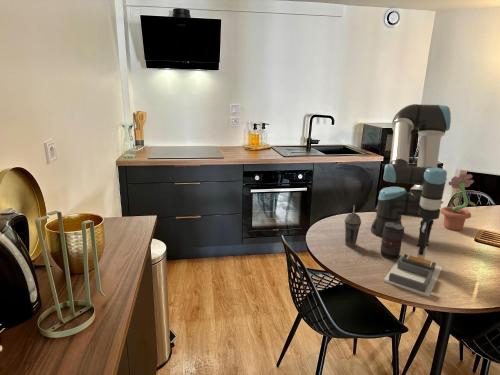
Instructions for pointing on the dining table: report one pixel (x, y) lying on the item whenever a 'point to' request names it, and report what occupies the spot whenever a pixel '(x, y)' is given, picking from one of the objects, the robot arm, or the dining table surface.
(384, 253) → the camera lens
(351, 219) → the beverage cup
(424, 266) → the board
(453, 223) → the decorative flower
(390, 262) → the dining table surface
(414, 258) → the orange rectangular brick
